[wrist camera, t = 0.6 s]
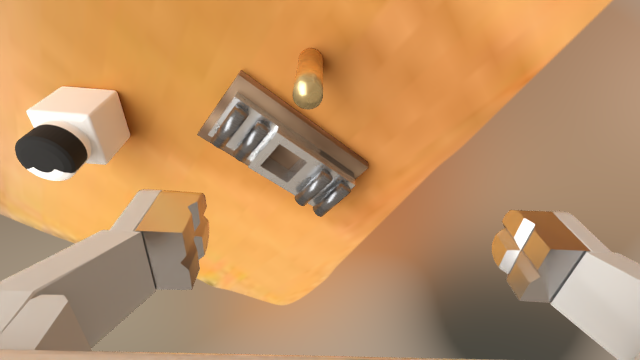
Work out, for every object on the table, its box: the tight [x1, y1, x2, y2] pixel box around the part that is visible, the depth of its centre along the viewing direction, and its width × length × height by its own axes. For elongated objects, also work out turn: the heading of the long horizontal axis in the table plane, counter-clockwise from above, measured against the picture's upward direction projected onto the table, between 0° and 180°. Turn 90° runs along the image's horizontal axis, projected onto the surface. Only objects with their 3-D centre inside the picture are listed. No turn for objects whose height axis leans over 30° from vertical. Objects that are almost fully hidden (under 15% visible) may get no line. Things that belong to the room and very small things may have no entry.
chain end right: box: [248, 127, 355, 217], centre depth 48 cm, size 7×14×5 cm, turn 51°
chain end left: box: [208, 92, 320, 176], centre depth 46 cm, size 7×14×4 cm, turn 51°
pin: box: [293, 48, 323, 109], centre depth 38 cm, size 3×3×10 cm
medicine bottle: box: [15, 86, 130, 181], centre depth 42 cm, size 7×7×12 cm
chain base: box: [197, 71, 368, 179], centre depth 49 cm, size 11×22×2 cm, turn 51°
